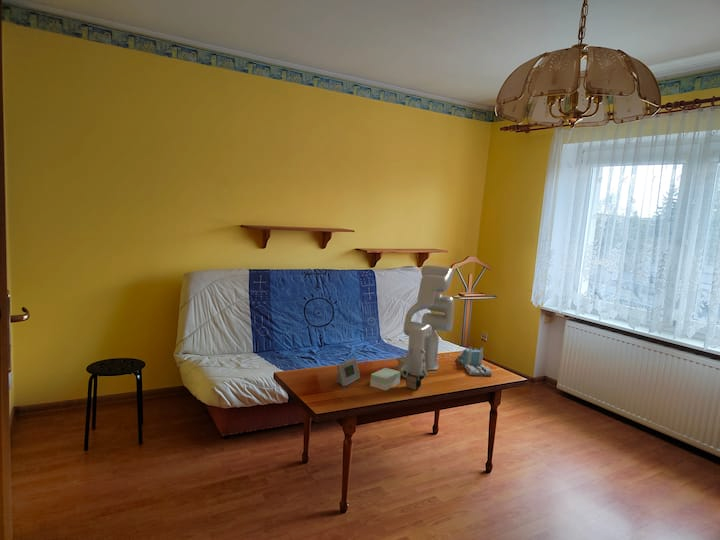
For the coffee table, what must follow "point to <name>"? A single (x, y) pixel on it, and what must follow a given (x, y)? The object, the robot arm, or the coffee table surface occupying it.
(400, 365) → the toy train
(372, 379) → the base brick
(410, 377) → the walnut brick
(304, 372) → the coffee table surface
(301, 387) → the coffee table surface
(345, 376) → the digital clock
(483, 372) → the truck
